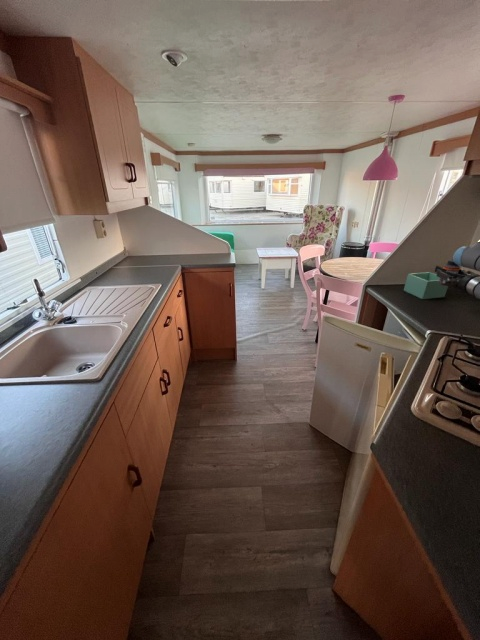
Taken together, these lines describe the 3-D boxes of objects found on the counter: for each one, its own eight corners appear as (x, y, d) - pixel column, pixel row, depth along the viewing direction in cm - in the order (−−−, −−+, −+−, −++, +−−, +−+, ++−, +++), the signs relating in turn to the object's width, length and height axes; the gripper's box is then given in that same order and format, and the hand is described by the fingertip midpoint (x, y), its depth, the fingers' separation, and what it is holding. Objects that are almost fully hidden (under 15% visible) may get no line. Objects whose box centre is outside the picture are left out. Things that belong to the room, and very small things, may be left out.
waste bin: (444, 296, 141) (450, 279, 137) (422, 299, 139) (427, 281, 135) (424, 288, 153) (429, 271, 149) (403, 290, 151) (408, 273, 147)
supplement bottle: (437, 281, 127) (445, 258, 122) (452, 283, 124) (461, 259, 119) (438, 285, 123) (446, 261, 118) (454, 287, 120) (463, 262, 115)
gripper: (447, 293, 108) (420, 276, 128) (498, 294, 105) (462, 276, 126) (453, 275, 104) (424, 260, 125) (506, 276, 102) (468, 260, 122)
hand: (443, 268), depth 125 cm, fingers closed on supplement bottle, 6 cm apart
